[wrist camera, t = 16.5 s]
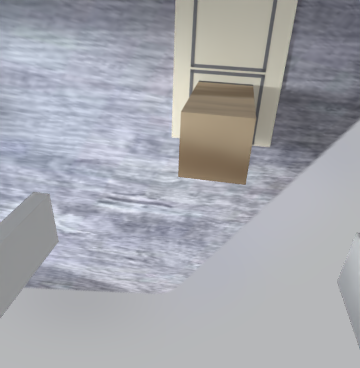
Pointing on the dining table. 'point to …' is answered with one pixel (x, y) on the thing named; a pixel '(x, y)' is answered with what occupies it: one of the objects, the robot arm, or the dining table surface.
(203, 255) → the dining table surface
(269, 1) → the tag card
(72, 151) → the dining table surface
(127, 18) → the dining table surface
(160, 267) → the dining table surface
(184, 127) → the tall wooden block
